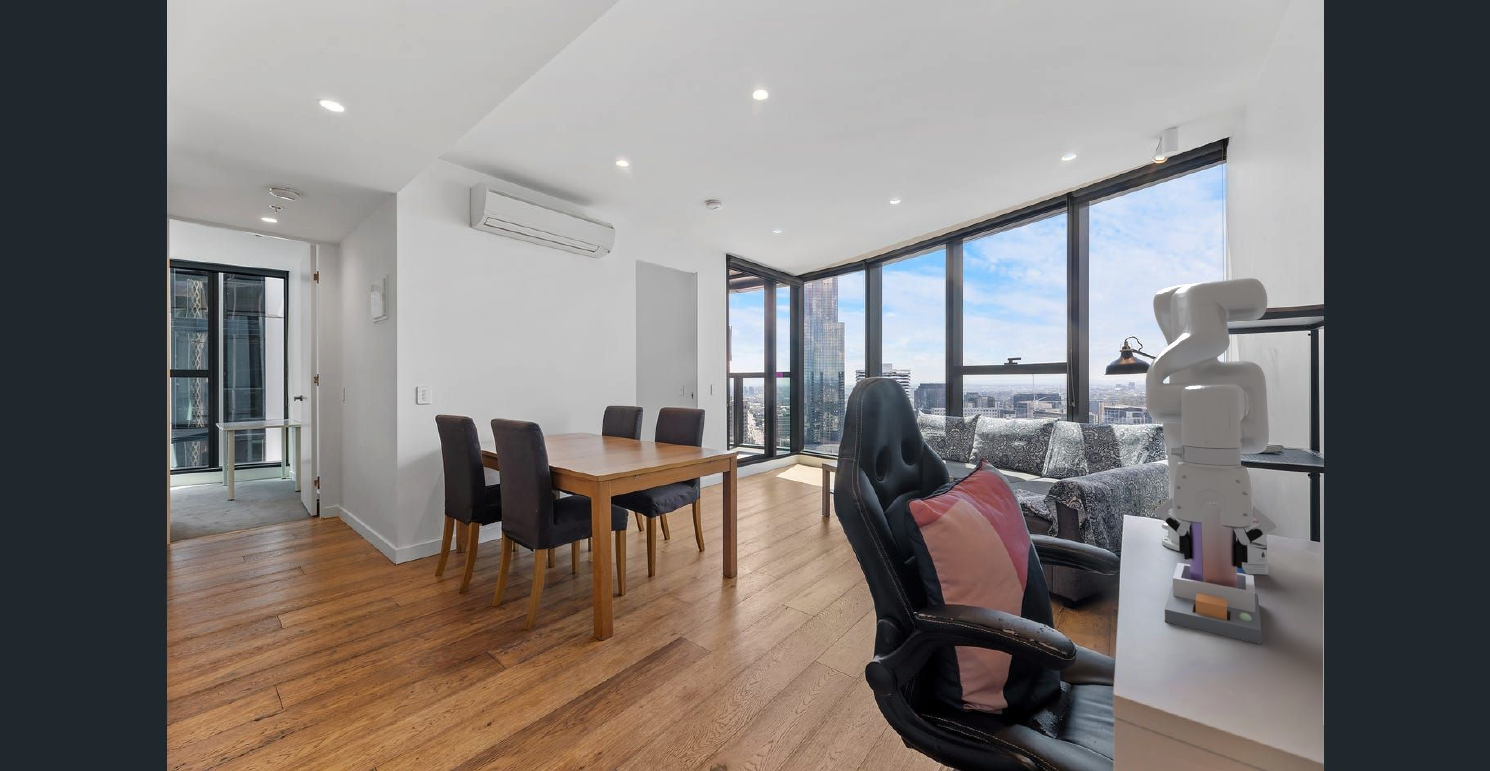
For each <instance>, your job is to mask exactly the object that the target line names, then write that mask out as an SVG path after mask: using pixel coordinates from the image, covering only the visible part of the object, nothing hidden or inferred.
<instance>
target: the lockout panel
mask: <svg viewBox="0 0 1490 771" xmlns="http://www.w3.org/2000/svg"><path fill="white" fill-rule="evenodd" d="M1254 578H1255V575H1254V574H1241V573H1237V588H1233V587H1227V586H1222V585H1217V584H1211V583H1206V582H1200V581H1195V580H1191V579H1190V563H1189V564H1188V563H1181V562H1177V564H1176V567H1175V570H1174V574H1173V576H1172V585H1171V588H1170V591H1169V595H1168V598H1167V601H1166V605H1165V607H1164V622H1165V623H1170V624H1173V625H1178V626H1182V627H1186V628H1191V629H1194V630H1199V631H1203V632H1208V633H1211V634H1216V635H1220V636H1224V637H1229V638H1233V639H1237V640H1242V641H1246V642H1250V643H1255V644H1259V645H1262V625H1261V612H1260V602H1259V592H1256V590H1255V579H1254ZM1197 593H1198V594H1203V595H1208V596H1213V597H1218V598H1223V599H1227V620H1224V619H1220V618H1215V617H1211V616H1206V615H1201V614H1197V613H1196V602H1195V600H1196V595H1197Z"/></svg>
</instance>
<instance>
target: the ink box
mask: <svg viewBox="0 0 1490 771" xmlns="http://www.w3.org/2000/svg"><path fill="white" fill-rule="evenodd" d="M1260 524H1261V523H1260V522H1259V521H1258V520H1257V519H1256V518H1253V524H1252V526H1251V527H1249V528H1245V530H1246V532H1248V531H1249V530H1251V529H1253V528H1255V527H1257V526H1259V525H1260ZM1267 536H1268V535H1267V533H1265V534H1264V535H1262V536H1261V537H1259V538H1257V539H1256V540H1254V541H1252V542H1251V543H1250V544H1248V545H1247V549H1248V563H1244V562H1242V569H1241V568H1238V567H1237V573H1241V574H1247V575H1268V574H1269V571H1268V570H1269V568H1268V567H1269V566H1268V564H1269V563H1268V543H1267V542H1268V541H1267ZM1237 538H1238V537H1237V535H1236V541H1237Z"/></svg>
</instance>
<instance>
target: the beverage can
mask: <svg viewBox="0 0 1490 771" xmlns="http://www.w3.org/2000/svg"><path fill="white" fill-rule="evenodd" d="M1215 504H1217V503H1216V502H1213V504H1212V503H1211V502H1209V503H1207V504H1205V505H1203V506H1204V507H1203V508H1202V507H1201V508H1202V513H1203V514H1202V523H1191V525H1190V527H1189V537H1190V559H1189V565H1190V579H1191V580H1195V581H1200V582H1206V583H1211V584H1217V585H1222V586H1227V587H1233V588H1237V567H1236V533H1235V531H1234V529H1233V528H1230V527H1225V526H1222V525H1220V511H1221V509H1220V510H1219V509H1218V508H1219V507H1218V506H1216V505H1215Z"/></svg>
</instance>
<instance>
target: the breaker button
mask: <svg viewBox="0 0 1490 771" xmlns="http://www.w3.org/2000/svg"><path fill="white" fill-rule="evenodd" d="M1195 602H1196V613H1197V614H1201V615H1206V616H1211V617H1215V618H1220V619H1224V620H1227V599H1223V598H1218V597H1213V596H1208V595H1203V594H1198V593H1197V595H1196V600H1195Z"/></svg>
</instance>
